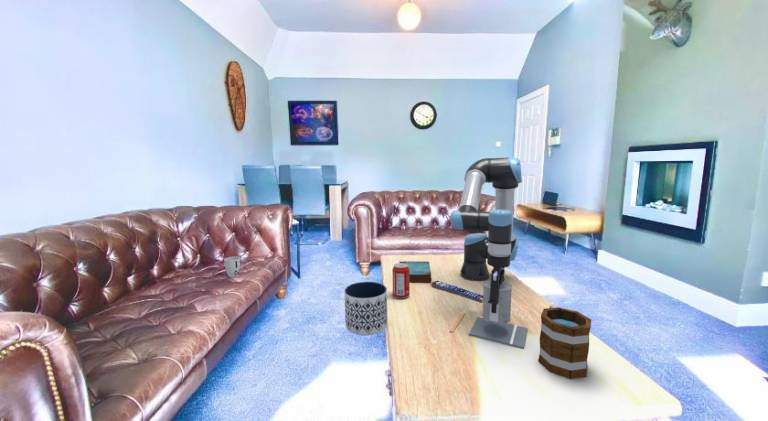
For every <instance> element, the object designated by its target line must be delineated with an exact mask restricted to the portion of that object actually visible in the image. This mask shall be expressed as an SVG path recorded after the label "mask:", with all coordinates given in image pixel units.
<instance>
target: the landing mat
mask: <svg viewBox="0 0 768 421" xmlns="http://www.w3.org/2000/svg"><path fill="white" fill-rule="evenodd" d="M528 330H529V329H528V327H525V326H520V325H517V324H511V323H506V324H495V323H491V322H488V321H486V320H485V319H484V318H483V317H480V316H477V317H476V319H475V321H474V323H473V324H472V326H471V327H470V330H469V332H468V336H469V337H470V336H471V337H475V338H479V339H483V340H485V341H486V340H487V341H490V342H494V343H499V344H502V345H506V346H510V347H515V348H517V349H522V350H524V349H525V345H526V340H527V335H528Z"/></svg>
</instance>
